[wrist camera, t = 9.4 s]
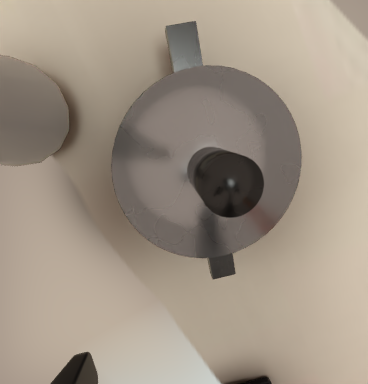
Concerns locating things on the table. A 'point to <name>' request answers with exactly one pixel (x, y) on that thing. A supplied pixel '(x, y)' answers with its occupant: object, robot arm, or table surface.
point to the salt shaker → (29, 114)
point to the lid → (206, 161)
